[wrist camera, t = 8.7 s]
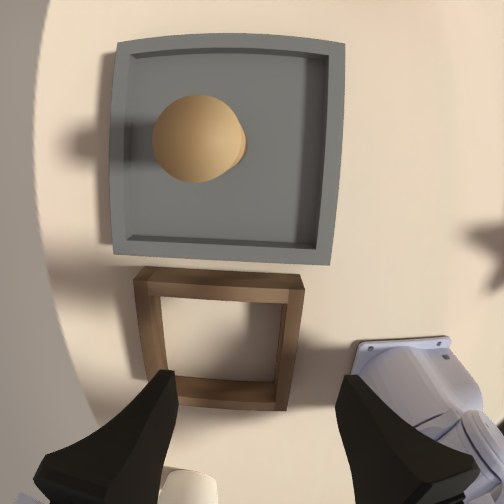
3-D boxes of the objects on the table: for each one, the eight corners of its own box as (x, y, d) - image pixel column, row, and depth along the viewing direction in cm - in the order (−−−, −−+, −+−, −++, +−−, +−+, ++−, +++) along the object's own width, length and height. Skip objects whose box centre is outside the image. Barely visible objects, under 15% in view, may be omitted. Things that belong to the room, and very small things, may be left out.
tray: (337, 52, 17) (345, 43, 15) (323, 255, 21) (329, 265, 19) (128, 50, 17) (117, 42, 15) (124, 245, 21) (113, 254, 19)
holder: (299, 274, 22) (304, 289, 19) (284, 390, 25) (286, 411, 23) (145, 266, 22) (133, 279, 19) (159, 381, 25) (151, 400, 23)
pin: (248, 121, 18) (243, 94, 9) (246, 169, 19) (239, 183, 10) (199, 120, 18) (154, 96, 9) (197, 168, 19) (151, 182, 10)
